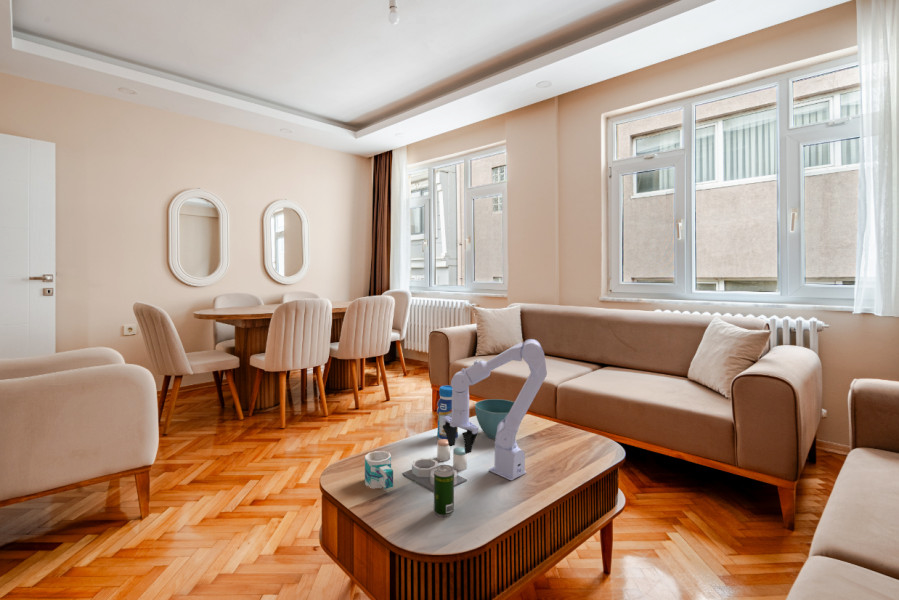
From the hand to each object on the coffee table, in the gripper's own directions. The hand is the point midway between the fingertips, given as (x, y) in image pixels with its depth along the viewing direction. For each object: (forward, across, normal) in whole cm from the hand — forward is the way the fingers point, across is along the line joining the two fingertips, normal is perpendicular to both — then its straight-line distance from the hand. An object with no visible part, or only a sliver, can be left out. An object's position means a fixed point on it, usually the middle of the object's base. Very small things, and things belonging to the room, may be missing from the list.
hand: (459, 449), depth 142 cm
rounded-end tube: (+6, -9, +1) cm, 11 cm away
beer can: (+6, +16, -22) cm, 28 cm away
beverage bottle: (+7, -22, +15) cm, 27 cm away
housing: (+6, 0, -11) cm, 13 cm away
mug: (+7, -8, -26) cm, 28 cm away
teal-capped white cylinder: (+6, 0, 0) cm, 6 cm away
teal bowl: (+6, -10, +31) cm, 33 cm away
